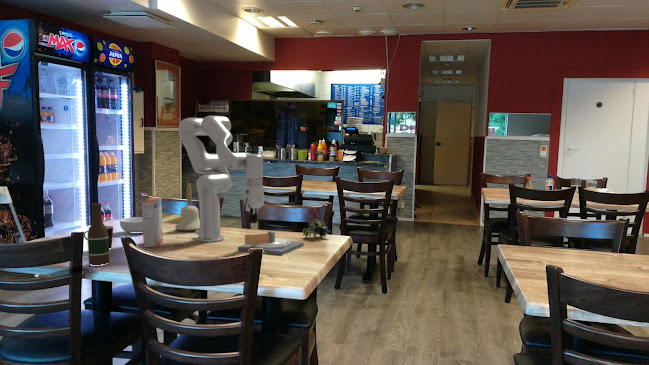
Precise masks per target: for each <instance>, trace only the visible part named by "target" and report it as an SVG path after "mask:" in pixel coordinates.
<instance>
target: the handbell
mask: <svg viewBox="0 0 649 365" xmlns="http://www.w3.org/2000/svg"><path fill="white" fill-rule="evenodd" d="M192 192H193V191H192V185H191V183H187V184H186V200H187V205H185V206H182V208H181V210H180V220H179V222H178V223H177V224H176V225H175V226H174V227H175V229H176V230H180V231H193V230H195V231H196V230H200V210H199V208H198V207H196V206H195V205H192V200H193V199H192V197H193V196H192V195H193V194H192Z"/></svg>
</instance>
